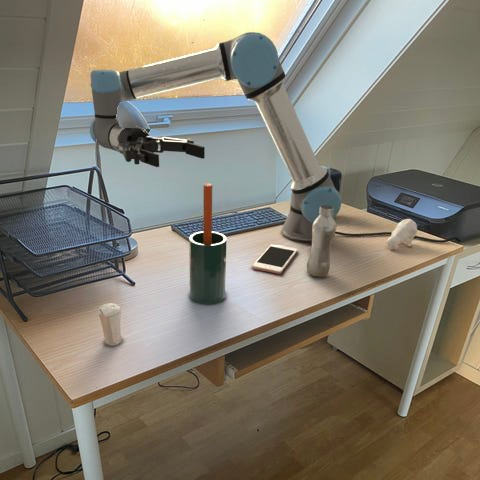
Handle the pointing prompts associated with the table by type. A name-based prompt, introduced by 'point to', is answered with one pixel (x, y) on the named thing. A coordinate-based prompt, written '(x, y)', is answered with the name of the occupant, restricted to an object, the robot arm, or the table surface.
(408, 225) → the white animal figurine
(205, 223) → the brush
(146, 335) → the table surface
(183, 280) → the table surface
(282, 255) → the cell phone
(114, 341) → the milkshake
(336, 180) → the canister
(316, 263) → the plastic bottle
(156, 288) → the table surface
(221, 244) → the cup
